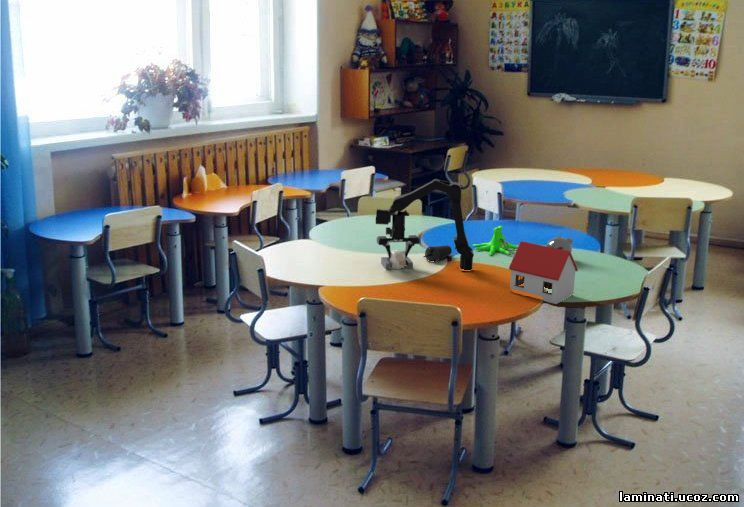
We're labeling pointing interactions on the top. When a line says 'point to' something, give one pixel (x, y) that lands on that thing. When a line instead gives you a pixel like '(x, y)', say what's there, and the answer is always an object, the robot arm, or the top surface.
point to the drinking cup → (437, 252)
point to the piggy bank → (561, 243)
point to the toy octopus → (496, 243)
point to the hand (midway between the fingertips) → (397, 258)
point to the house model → (543, 271)
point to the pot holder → (386, 263)
